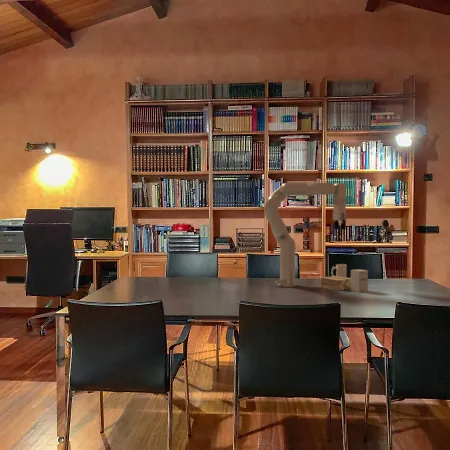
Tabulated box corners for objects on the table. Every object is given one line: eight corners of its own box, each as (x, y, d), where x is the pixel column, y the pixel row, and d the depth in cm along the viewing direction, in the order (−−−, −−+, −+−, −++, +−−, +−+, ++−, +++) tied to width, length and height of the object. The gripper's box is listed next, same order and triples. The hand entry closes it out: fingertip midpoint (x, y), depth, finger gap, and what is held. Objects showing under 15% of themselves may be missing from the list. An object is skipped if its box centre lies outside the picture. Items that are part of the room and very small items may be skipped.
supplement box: (358, 292, 272) (359, 271, 272) (350, 290, 279) (350, 269, 278) (368, 291, 276) (368, 270, 275) (359, 289, 282) (359, 268, 282)
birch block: (338, 290, 278) (338, 280, 278) (321, 287, 290) (321, 277, 289) (353, 287, 287) (353, 278, 287) (335, 284, 298) (335, 275, 298)
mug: (345, 281, 309) (345, 264, 308) (347, 283, 302) (347, 265, 302) (330, 281, 310) (330, 264, 309) (331, 283, 303) (331, 265, 303)
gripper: (328, 202, 302) (328, 228, 302) (340, 202, 285) (340, 230, 285) (339, 202, 303) (339, 228, 304) (351, 202, 286) (351, 229, 287)
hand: (339, 229), depth 295 cm, fingers open, 9 cm apart
